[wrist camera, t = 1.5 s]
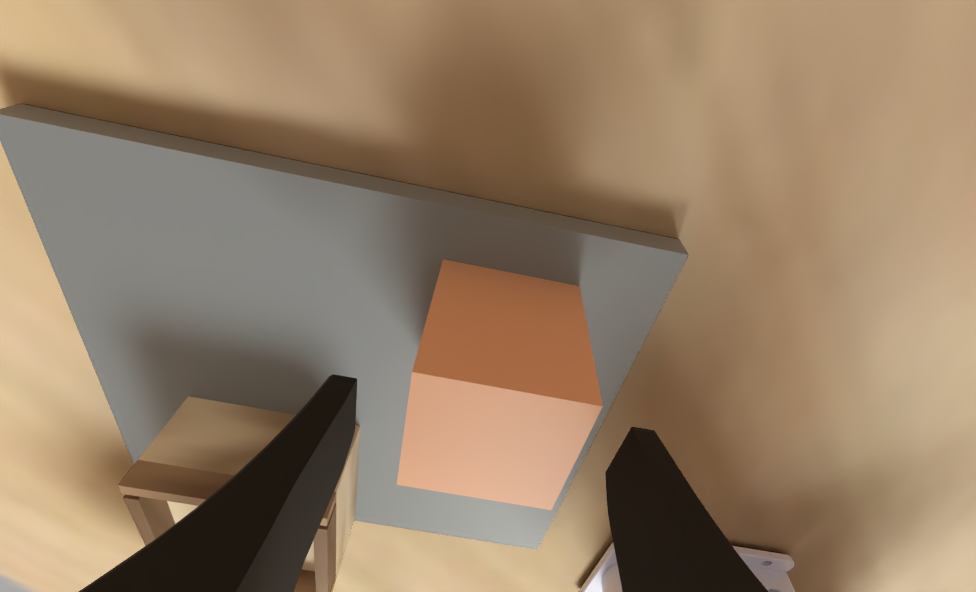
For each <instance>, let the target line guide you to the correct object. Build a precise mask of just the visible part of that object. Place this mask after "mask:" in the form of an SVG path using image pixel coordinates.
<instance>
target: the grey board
mask: <svg viewBox="0 0 976 592" xmlns="http://www.w3.org/2000/svg"><path fill="white" fill-rule="evenodd" d="M0 141H1V144H2V146H3V149H4V151H5V153H6V156H7V158H8V161H9V163H10V166H11V168H12V170H13V173H14V175H15V178H16V180H17V182H18V185H19V187H20V190H21V192H22V195H23V197H24V199H25V202H26V204H27V207H28V209H29V212H30V214H31V216H32V219H33V221H34V224H35V226H36V229H37V231H38V233H39V236H40V238H41V241H42V243H43V246H44V248H45V250H46V253H47V255H48V258H49V260H50V262H51V265H52V267H53V270H54V272H55V275H56V277H57V279H58V282H59V284H60V287H61V289H62V292H63V294H64V296H65V299H66V301H67V304H68V306H69V309H70V311H71V313H72V316H73V318H74V321H75V323H76V325H77V328H78V330H79V333H80V335H81V338H82V340H83V342H84V345H85V347H86V350H87V352H88V355H89V357H90V359H91V362H92V364H93V367H94V369H95V372H96V374H97V376H98V379H99V381H100V384H101V386H102V389H103V391H104V393H105V396H106V398H107V401H108V403H109V405H110V408H111V410H112V413H113V415H114V418H115V420H116V422H117V425H118V427H119V430H120V432H121V435H122V437H123V439H124V442H125V444H126V447H127V449H128V452H129V454H130V456H131V459H132V461H133V464H135V463H136V461H137V460H138V459H139V458H140V456H141V455H142V454H143V453H144V451H145V450H146V449H147V448H148V446H149V445H150V444H151V443H152V441H153V440H154V439H155V438H156V436H157V435H158V434H159V432H160V431H161V430H162V429H163V427H164V426H165V425H166V424H167V422H168V421H169V420H170V419H171V417H172V416H173V415H174V414H175V412H176V411H177V410H178V409H179V407H180V406H181V405H182V404H183V402H184V401H185V400H186V399H187V397H188V396H190V397H195V398H201V399H207V400H213V401H219V402H225V403H230V404H236V405H242V406H248V407H254V408H259V409H265V410H271V411H277V412H283V413H288V414H294V415H297V414H298V412H299V411H300V410H301V409H302V408H303V407H304V406H305V405H306V404H307V402H308V401H309V400H310V399H311V398H312V397H313V395H314V394H315V393H316V392H317V391H318V389H319V388H320V387H321V386H322V385H323V383H324V382H325V381H326V380H327V378H328V377H329V376H331V375H333V374H335V375H341V376H346V377H352V378H357V400H356V424H355V425H358V426H360V439H359V458H358V478H357V497H356V516H355V519H354V521H360V522H366V523H373V524H379V525H385V526H392V527H398V528H404V529H410V530H417V531H423V532H429V533H435V534H442V535H448V536H454V537H460V538H467V539H473V540H479V541H486V542H492V543H498V544H504V545H511V546H517V547H523V548H529V549H536V550H538V548H539V546H540V544H541V542H542V540H543V538H544V536H545V534H546V532H547V530H548V528H549V526H550V524H551V522H552V520H553V518H554V516H555V514H556V513H557V511H558V509H559V507H560V505H561V503H562V501H563V499H564V497H565V495H566V493H567V491H568V489H569V487H570V485H571V483H572V481H573V479H574V477H575V475H576V474H577V472H578V470H579V468H580V466H581V464H582V462H583V460H584V458H585V456H586V454H587V452H588V450H589V448H590V446H591V444H592V442H593V440H594V438H595V436H596V435H597V433H598V431H599V429H600V427H601V425H602V423H603V421H604V419H605V417H606V415H607V413H608V411H609V409H610V407H611V405H612V403H613V401H614V399H615V397H616V396H617V394H618V392H619V390H620V388H621V386H622V384H623V382H624V380H625V378H626V376H627V374H628V372H629V370H630V368H631V366H632V364H633V362H634V360H635V358H636V357H637V355H638V353H639V351H640V349H641V347H642V345H643V343H644V341H645V339H646V337H647V335H648V333H649V331H650V329H651V327H652V325H653V323H654V321H655V319H656V318H657V316H658V314H659V312H660V310H661V308H662V306H663V304H664V302H665V300H666V298H667V296H668V294H669V292H670V290H671V288H672V286H673V284H674V282H675V281H676V279H677V277H678V275H679V273H680V271H681V269H682V267H683V265H684V263H685V261H686V259H687V257H688V253H687V252H686V250H685V248H684V247H683V245H682V243H681V242H680V240H679V239H675V238H670V237H665V236H660V235H655V234H650V233H646V232H641V231H636V230H631V229H626V228H621V227H616V226H612V225H607V224H602V223H597V222H592V221H587V220H582V219H578V218H573V217H568V216H563V215H558V214H553V213H549V212H544V211H539V210H534V209H529V208H524V207H519V206H515V205H510V204H505V203H500V202H495V201H490V200H485V199H481V198H476V197H471V196H466V195H461V194H456V193H452V192H447V191H442V190H437V189H432V188H427V187H422V186H418V185H413V184H408V183H403V182H398V181H393V180H388V179H384V178H379V177H374V176H369V175H364V174H359V173H354V172H350V171H345V170H340V169H335V168H330V167H325V166H321V165H316V164H311V163H306V162H301V161H296V160H291V159H287V158H282V157H277V156H272V155H267V154H262V153H257V152H253V151H248V150H243V149H238V148H233V147H228V146H224V145H219V144H214V143H209V142H204V141H199V140H194V139H190V138H185V137H180V136H175V135H170V134H165V133H160V132H156V131H151V130H146V129H141V128H136V127H131V126H127V125H122V124H117V123H112V122H107V121H102V120H97V119H93V118H88V117H83V116H78V115H73V114H68V113H63V112H59V111H54V110H49V109H44V108H39V107H34V106H30V105H25V104H18V105H14V106H10V107H6V108H2V109H0ZM443 259H444V260H449V261H454V262H460V263H465V264H470V265H475V266H480V267H485V268H490V269H495V270H500V271H505V272H510V273H515V274H521V275H526V276H531V277H536V278H541V279H546V280H551V281H556V282H561V283H566V284H571V285H576V286H580V290H581V295H582V301H583V306H584V311H585V316H586V321H587V327H588V332H589V337H590V342H591V347H592V352H593V358H594V363H595V368H596V373H597V378H598V383H599V389H600V394H601V399H602V404H603V407H602V409H601V411H600V413H599V415H598V417H597V419H596V421H595V423H594V425H593V427H592V429H591V431H590V433H589V435H588V437H587V439H586V442H585V444H584V446H583V448H582V450H581V452H580V454H579V456H578V458H577V460H576V462H575V464H574V466H573V468H572V470H571V472H570V474H569V476H568V478H567V480H566V482H565V484H564V486H563V488H562V490H561V492H560V494H559V496H558V498H557V500H556V502H555V504H554V506H553V508H552V510H546V509H540V508H534V507H528V506H522V505H516V504H510V503H504V502H498V501H492V500H486V499H480V498H474V497H468V496H462V495H456V494H450V493H443V492H437V491H431V490H425V489H419V488H413V487H407V486H401V485H397V478H398V471H399V463H400V456H401V449H402V441H403V434H404V427H405V419H406V412H407V405H408V397H409V390H410V383H411V375H412V370H413V366H414V363H415V359H416V356H417V352H418V348H419V345H420V341H421V337H422V334H423V330H424V327H425V323H426V319H427V316H428V312H429V308H430V305H431V301H432V297H433V294H434V290H435V287H436V283H437V279H438V276H439V272H440V268H441V265H442V261H443Z"/></svg>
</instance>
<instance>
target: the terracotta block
mask: <svg viewBox="0 0 976 592" xmlns="http://www.w3.org/2000/svg"><path fill="white" fill-rule="evenodd" d="M602 407H603V404H602V399H601V394H600V389H599V383H598V378H597V373H596V368H595V363H594V358H593V352H592V347H591V342H590V337H589V332H588V327H587V321H586V316H585V311H584V306H583V301H582V295H581V290H580V286H576V285H571V284H566V283H561V282H556V281H551V280H546V279H541V278H536V277H531V276H526V275H521V274H515V273H510V272H505V271H500V270H495V269H490V268H485V267H480V266H475V265H470V264H465V263H460V262H454V261H449V260H444V259H443V261H442V265H441V268H440V272H439V276H438V279H437V283H436V287H435V290H434V294H433V297H432V301H431V305H430V308H429V312H428V316H427V319H426V323H425V327H424V330H423V334H422V337H421V341H420V345H419V348H418V352H417V356H416V359H415V363H414V366H413V370H412V375H411V383H410V390H409V397H408V405H407V412H406V419H405V427H404V434H403V441H402V449H401V456H400V463H399V471H398V478H397V485H401V486H407V487H413V488H419V489H425V490H431V491H437V492H443V493H450V494H456V495H462V496H468V497H474V498H480V499H486V500H492V501H498V502H504V503H510V504H516V505H522V506H528V507H534V508H540V509H546V510H552V508H553V506H554V504H555V502H556V500H557V498H558V496H559V494H560V492H561V490H562V488H563V486H564V484H565V482H566V480H567V478H568V476H569V474H570V472H571V470H572V468H573V466H574V464H575V462H576V460H577V458H578V456H579V454H580V452H581V450H582V448H583V446H584V444H585V442H586V439H587V437H588V435H589V433H590V431H591V429H592V427H593V425H594V423H595V421H596V419H597V417H598V415H599V413H600V411H601V409H602Z"/></svg>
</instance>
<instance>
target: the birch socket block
mask: <svg viewBox="0 0 976 592" xmlns="http://www.w3.org/2000/svg"><path fill="white" fill-rule="evenodd" d="M295 416H296V415H294V414H288V413H283V412H277V411H271V410H265V409H259V408H254V407H248V406H242V405H236V404H230V403H225V402H219V401H213V400H207V399H201V398H195V397H190V396H188V397H187V399H186V400H185V401H184V402H183V404H182V405H181V406H180V407H179V409H178V410H177V411H176V412H175V414H174V415H173V416H172V417H171V419H170V420H169V421H168V422H167V424H166V425H165V426H164V427H163V429H162V430H161V431H160V432H159V434H158V435H157V436H156V438H155V439H154V440H153V441H152V443H151V444H150V445H149V446H148V448H147V449H146V450H145V451H144V453H143V454H142V455H141V456H140V458H139V459H138V460H137V461H136V463H135V464H134V465H133V466H132V468H131V469H130V470H129V471H128V473H127V474H126V475H125V477H124V478H123V479H122V480H121V482H120V483H119V484H118V488H119V490H120V492H121V494H126V495H125V496H124V497H123V498H124V500H125V503H126V505H127V507H128V509H129V511H130V513H131V515H132V518H133V520H134V522H135V524H136V526H137V528H138V530H139V533H140V535H141V537H142V539H143V541H144V543H145V545H148V544H149V543H151V542H152V541H153V540H155V539H156V538H157V537H159V536H160V535H162V534H163V533H164V532H166V531H167V530H168V529H169V528H171V527H172V526H173V525H175V524H176V523H177V522H179V521H180V520H181V519H182V518H184V517H185V516H186V515H188V514H189V513H190V512H192V511H193V510H194V509H195V508H197V507H198V506H199V505H200V504H202V503H203V502H204V501H205V500H206V499H208V498H209V497H210V496H211V495H212V494H214V493H215V492H216V491H217V490H218V489H220V488H221V487H222V486H223V485H224V484H225V483H227V482H228V481H229V480H230V479H231V478H232V477H233V476H235V475H236V474H237V473H238V472H239V471H240V470H241V469H242V468H243V467H244V466H245V465H246V464H248V463H249V462H250V461H251V460H252V459H253V458H254V457H255V456H256V455H257V454H258V453H259V452H260V451H261V450H262V449H263V448H265V447H266V446H267V445H268V444H269V443H270V442H271V441H272V440H273V439H274V438H275V437H276V436H277V434H278V433H279V432H280V431H281V430H282V429H283V428H284V427H285V426H286V425H287V424H288V423H289V422H290V421H291V420H292V419H293V418H294V417H295ZM359 439H360V426H358V425H355V433H354V436H353V439H352V443H351V446H350V450H349V453H348V456H347V459H346V462H345V466H344V469H343V471H342V474H341V476H340V479H339V481H338V483H337V486H336V488H335V490H334V493H333V495H332V498H331V500H330V502H329V505H328V507H327V509H326V512H325V514H324V516H323V519H322V521H321V523H320V526H319V528H318V531H317V533H316V535H315V538H314V540H313V542H312V545H311V547H310V549H309V552H308V554H307V556H306V559H305V562H304V564H303V567H302V570H301V572H300V575H299V578H298V581H297V584H296V587H295V590H294V592H332V591H333V587H334V584H335V581H336V578H337V574H338V571H339V568H340V564H341V561H342V558H343V555H344V551H345V548H346V545H347V542H348V538H349V535H350V532H351V529H352V525H353V522H354V519H355V516H356V497H357V478H358V458H359Z"/></svg>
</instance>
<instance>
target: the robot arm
mask: <svg viewBox="0 0 976 592" xmlns="http://www.w3.org/2000/svg"><path fill="white" fill-rule="evenodd" d="M356 400H357V378H352V377H346V376H341V375H335V374H333V375H331V376H329V377H328V378H327V380H326V381H325V382H324V383H323V385H322V386H321V387H320V388H319V389H318V391H317V392H316V393H315V394H314V395H313V397H312V398H311V399H310V400H309V401H308V402H307V404H306V405H305V406H304V407H303V408H302V409H301V410H300V411H299V412H298V414H297V415H296V416H295V417H294V418H293V419H292V420H291V421H290V422H289V423H288V424H287V425H286V426H285V427H284V428H283V429H282V430H281V431H280V432H279V433H278V434H277V436H276V437H275V438H274V439H273V440H272V441H271V442H270V443H269V444H268V445H267V446H266V447H265V448H263V449H262V450H261V451H260V452H259V453H258V454H257V455H256V456H255V457H254V458H253V459H252V460H251V461H250V462H249V463H248V464H246V465H245V466H244V467H243V468H242V469H241V470H240V471H239V472H238V473H237V474H236V475H235V476H233V477H232V478H231V479H230V480H229V481H228V482H227V483H225V484H224V485H223V486H222V487H221V488H220V489H218V490H217V491H216V492H215V493H214V494H212V495H211V496H210V497H209V498H208V499H206V500H205V501H204V502H203V503H202V504H200V505H199V506H198V507H197V508H195V509H194V510H193V511H192V512H190V513H189V514H188V515H186V516H185V517H184V518H182V519H181V520H180V521H179V522H177V523H176V524H175V525H173V526H172V527H171V528H169V529H168V530H167V531H166V532H164V533H163V534H162V535H160V536H159V537H157V538H156V539H155V540H153V541H152V542H151V543H149V544H148V545H146V546H145V547H144V548H142V549H141V550H139V551H138V552H136V553H135V554H134V555H132V556H131V557H129V558H128V559H126V560H125V561H123V562H122V563H120V564H119V565H117V566H116V567H115V568H113V569H112V570H110V571H109V572H107V573H106V574H104V575H103V576H101V577H100V578H98V579H97V580H95V581H94V582H93V583H91V584H90V585H88V586H86V587H85V588H83V589H82V590H80V591H79V592H294V590H295V587H296V584H297V581H298V578H299V575H300V572H301V570H302V567H303V564H304V562H305V559H306V556H307V554H308V552H309V549H310V547H311V545H312V542H313V540H314V538H315V535H316V533H317V531H318V528H319V526H320V523H321V521H322V519H323V516H324V514H325V512H326V509H327V507H328V505H329V502H330V500H331V498H332V495H333V493H334V490H335V488H336V486H337V483H338V481H339V479H340V476H341V474H342V471H343V469H344V466H345V462H346V459H347V456H348V453H349V450H350V446H351V443H352V439H353V436H354V433H355V424H356ZM606 491H607V506H608V515H609V521H610V527H611V532H612V538H613V542H612V544H611V545H610V547H609V548H608V550H607V551H606V552H605V554H604V555H603V557H602V558H601V560H600V561H599V563H598V564H597V565H596V567H595V568H594V570H593V571H592V573H591V574H590V576H589V577H588V579H587V580H586V581H585V583H584V584H583V586H582V587H581V589H580V590H579V592H795V590H794V588H793V586H792V583H791V581H790V579H789V577H788V574H787V572H788V571H789V570H790V569H792V568H793V567H794V562H793V559H792V557H791V556H789V555H786V554H780V553H774V552H768V551H762V550H756V549H750V548H744V547H737V546H732V545H731V544H730V542H729V541H728V540H727V538H726V537H725V536H724V534H723V533H722V532H721V530H720V529H719V527H718V526H717V525H716V523H715V522H714V520H713V519H712V518H711V516H710V515H709V513H708V512H707V510H706V509H705V508H704V506H703V505H702V503H701V502H700V500H699V499H698V497H697V496H696V494H695V493H694V491H693V490H692V488H691V487H690V485H689V484H688V482H687V481H686V479H685V478H684V476H683V474H682V473H681V471H680V470H679V468H678V467H677V465H676V464H675V462H674V460H673V459H672V457H671V456H670V454H669V453H668V451H667V450H666V448H665V446H664V445H663V443H662V442H661V440H660V439H659V437H658V436H657V434H656V433H655V431H653V430H647V429H642V428H636V427H632V428H631V429H630V431H629V433H628V435H627V436H626V438H625V440H624V441H623V443H622V445H621V447H620V448H619V450H618V452H617V454H616V455H615V457H614V459H613V460H612V462H611V464H610V466H609V467H608V469H607V471H606Z"/></svg>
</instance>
